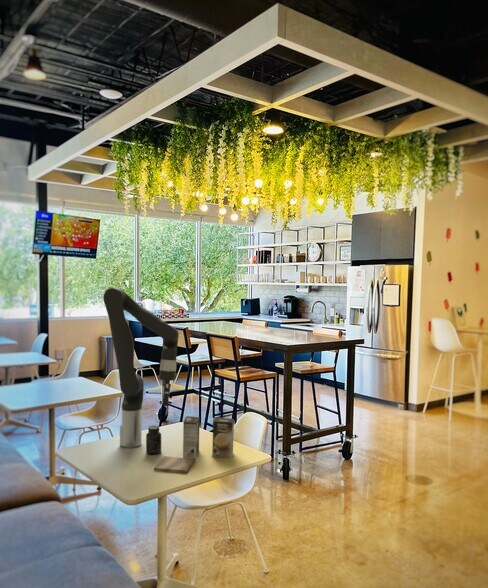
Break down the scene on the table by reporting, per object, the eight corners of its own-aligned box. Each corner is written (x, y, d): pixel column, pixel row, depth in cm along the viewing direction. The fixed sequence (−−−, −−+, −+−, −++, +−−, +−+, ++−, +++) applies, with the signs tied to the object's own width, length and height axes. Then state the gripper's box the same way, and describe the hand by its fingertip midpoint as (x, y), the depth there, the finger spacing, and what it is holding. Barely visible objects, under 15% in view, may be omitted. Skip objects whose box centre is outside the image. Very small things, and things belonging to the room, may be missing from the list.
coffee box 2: (211, 456, 214) (212, 421, 214) (213, 451, 221) (214, 417, 220) (231, 457, 213) (232, 422, 213) (233, 452, 220) (234, 418, 219)
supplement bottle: (146, 450, 220) (147, 424, 220) (161, 450, 221) (162, 424, 220) (145, 456, 213) (145, 429, 213) (160, 455, 214) (160, 429, 214)
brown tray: (153, 470, 198) (154, 467, 198) (164, 458, 211) (164, 456, 211) (186, 473, 195) (186, 470, 195) (195, 461, 208) (195, 458, 208)
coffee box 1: (185, 450, 221) (186, 416, 220) (199, 451, 221) (200, 416, 220) (182, 458, 212) (182, 422, 211) (196, 458, 212) (197, 422, 211)
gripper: (159, 367, 231) (156, 401, 230) (160, 370, 217) (157, 406, 216) (175, 368, 232) (172, 402, 231) (176, 371, 218) (173, 407, 217)
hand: (165, 404), depth 223 cm, fingers open, 8 cm apart
